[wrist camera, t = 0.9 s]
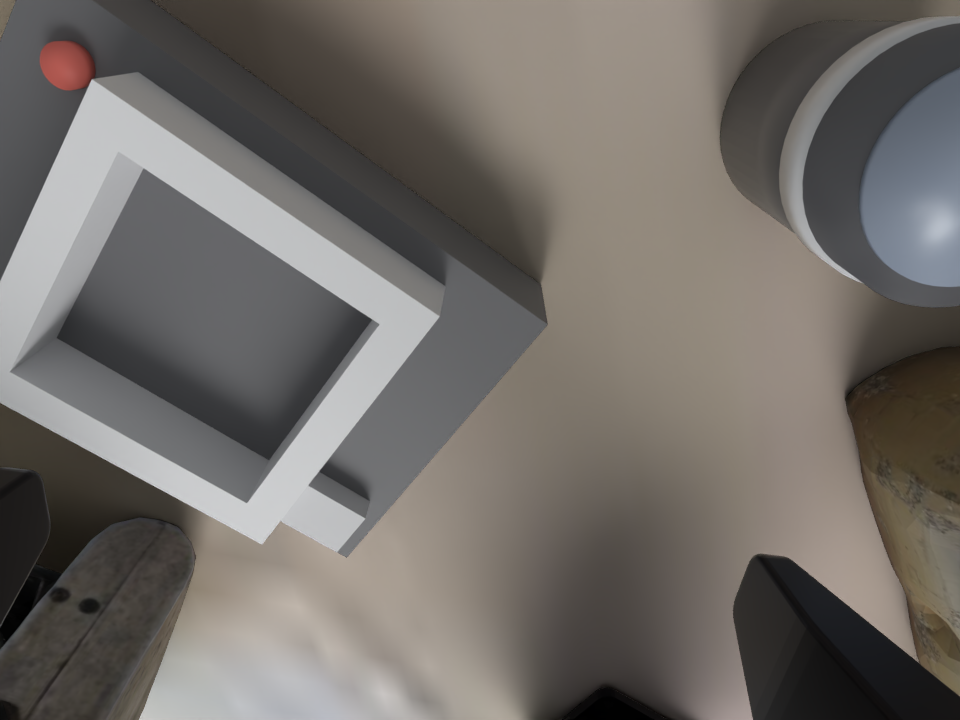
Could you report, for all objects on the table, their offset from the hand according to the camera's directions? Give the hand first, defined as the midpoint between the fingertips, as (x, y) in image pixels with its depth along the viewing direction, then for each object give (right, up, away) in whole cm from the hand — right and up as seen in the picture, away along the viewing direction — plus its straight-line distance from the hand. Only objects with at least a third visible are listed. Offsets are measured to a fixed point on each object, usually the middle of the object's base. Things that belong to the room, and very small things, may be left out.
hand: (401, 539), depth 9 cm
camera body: (-6, +5, +12) cm, 14 cm away
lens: (+10, +9, +10) cm, 16 cm away
